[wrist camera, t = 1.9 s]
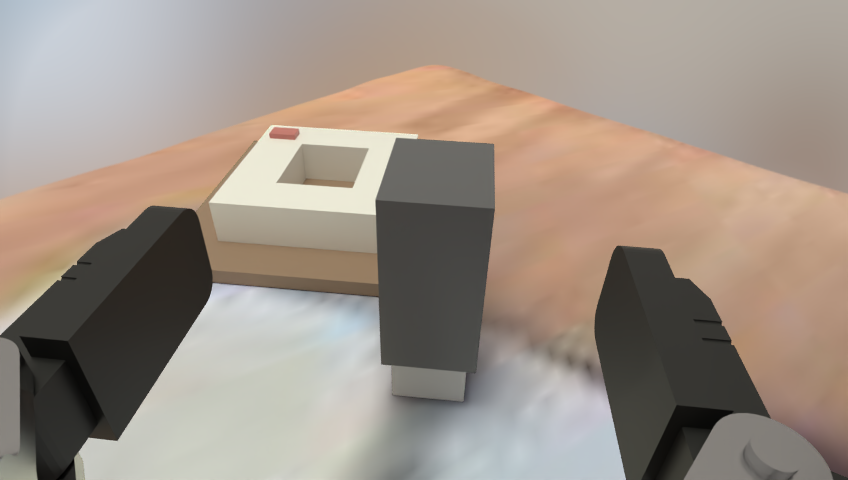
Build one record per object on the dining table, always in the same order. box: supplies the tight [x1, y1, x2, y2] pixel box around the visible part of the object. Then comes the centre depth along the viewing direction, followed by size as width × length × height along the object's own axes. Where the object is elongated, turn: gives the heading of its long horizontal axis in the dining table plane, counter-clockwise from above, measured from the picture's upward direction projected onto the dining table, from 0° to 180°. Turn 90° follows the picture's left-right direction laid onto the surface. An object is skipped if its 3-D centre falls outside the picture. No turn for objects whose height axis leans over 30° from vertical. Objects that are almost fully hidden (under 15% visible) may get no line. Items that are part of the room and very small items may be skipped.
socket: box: [196, 125, 418, 296], centre depth 39 cm, size 18×18×4 cm
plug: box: [375, 138, 495, 402], centre depth 25 cm, size 4×5×12 cm
